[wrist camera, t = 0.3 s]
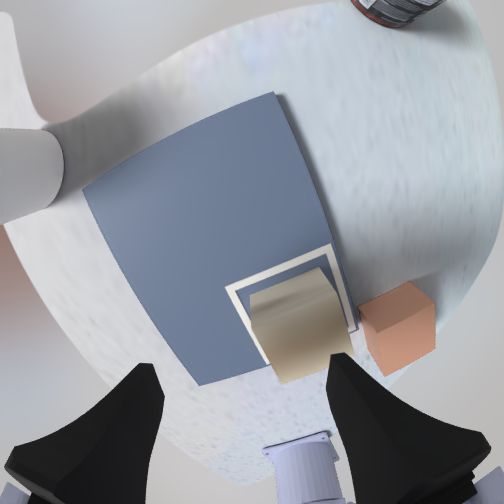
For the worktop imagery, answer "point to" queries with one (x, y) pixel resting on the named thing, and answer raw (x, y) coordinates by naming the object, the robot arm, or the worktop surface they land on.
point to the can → (28, 171)
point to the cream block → (300, 325)
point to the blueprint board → (216, 232)
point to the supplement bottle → (395, 10)
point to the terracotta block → (399, 327)
